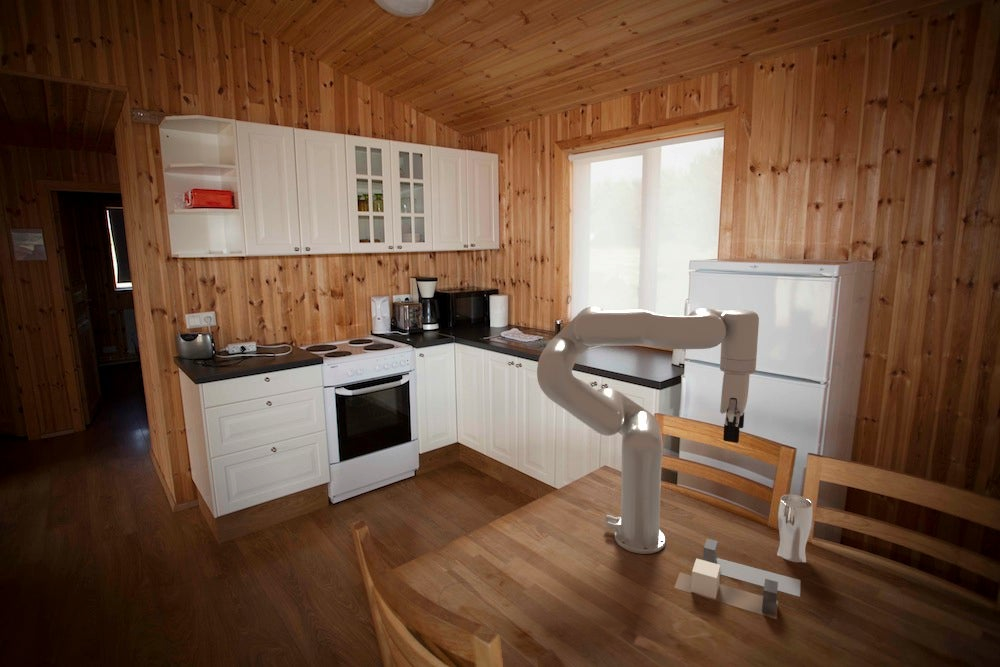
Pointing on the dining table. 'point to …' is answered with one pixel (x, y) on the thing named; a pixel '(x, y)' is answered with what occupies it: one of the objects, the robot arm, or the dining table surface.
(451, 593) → the dining table surface
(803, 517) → the beer glass
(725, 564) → the grey strip
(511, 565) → the dining table surface
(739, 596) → the brown long piece
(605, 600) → the dining table surface
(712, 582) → the cream block
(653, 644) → the dining table surface
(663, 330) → the robot arm
